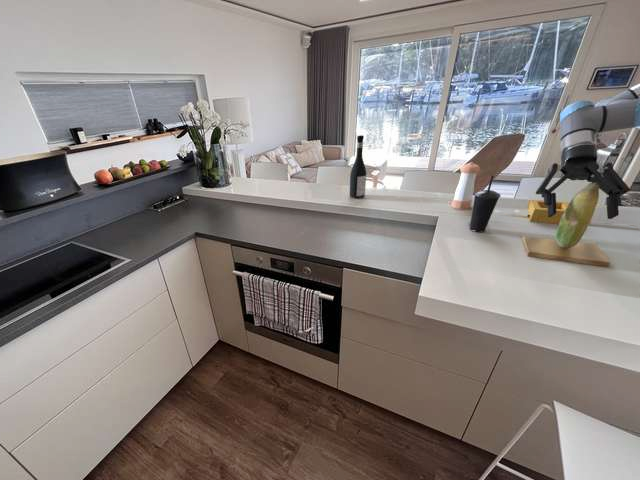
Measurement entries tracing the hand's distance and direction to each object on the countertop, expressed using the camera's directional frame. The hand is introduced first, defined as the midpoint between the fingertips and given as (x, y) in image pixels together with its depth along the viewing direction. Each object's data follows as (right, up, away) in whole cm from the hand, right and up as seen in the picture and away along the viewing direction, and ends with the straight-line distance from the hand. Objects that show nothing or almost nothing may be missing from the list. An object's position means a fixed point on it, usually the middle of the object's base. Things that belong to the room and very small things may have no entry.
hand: (581, 216), depth 82 cm
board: (+1, -10, +7) cm, 13 cm away
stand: (+17, +4, +29) cm, 35 cm away
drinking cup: (-12, -1, +26) cm, 29 cm away
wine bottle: (-45, +23, +71) cm, 87 cm away
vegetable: (+1, -9, +7) cm, 11 cm away
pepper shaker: (-5, +12, +47) cm, 49 cm away
